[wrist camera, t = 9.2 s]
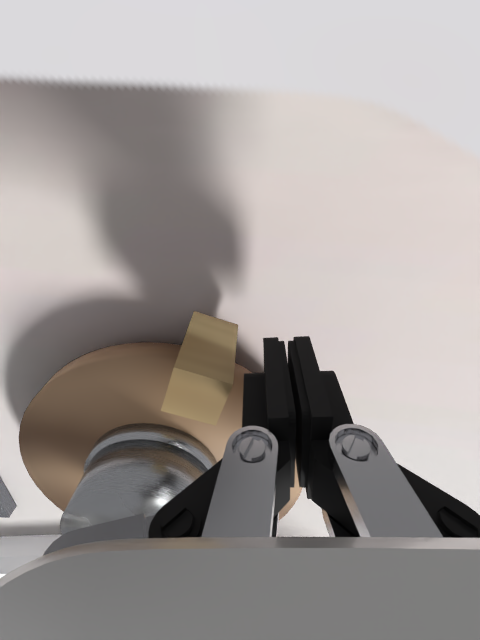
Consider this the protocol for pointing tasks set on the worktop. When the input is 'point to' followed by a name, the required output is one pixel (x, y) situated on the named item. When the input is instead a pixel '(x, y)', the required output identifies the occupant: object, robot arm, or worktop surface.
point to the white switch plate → (22, 550)
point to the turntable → (135, 402)
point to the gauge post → (5, 501)
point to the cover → (135, 474)
